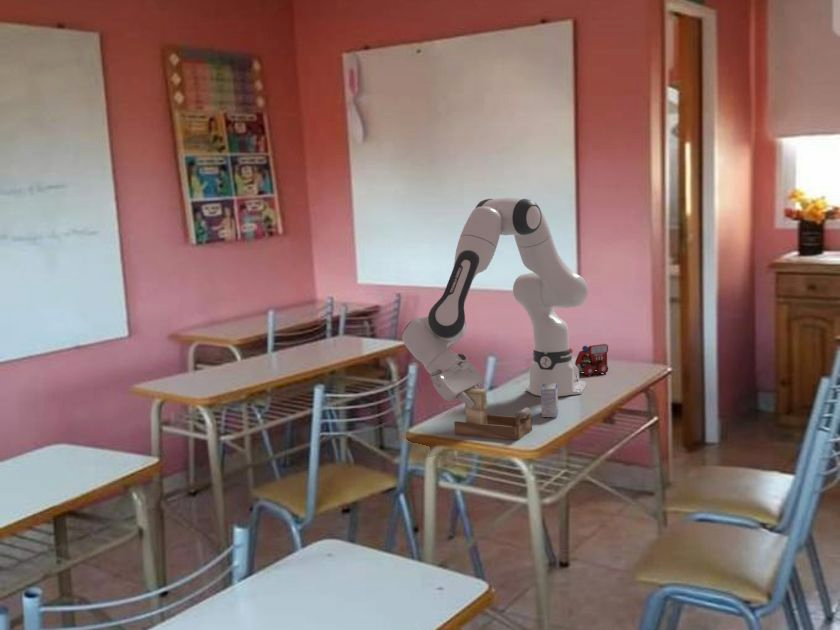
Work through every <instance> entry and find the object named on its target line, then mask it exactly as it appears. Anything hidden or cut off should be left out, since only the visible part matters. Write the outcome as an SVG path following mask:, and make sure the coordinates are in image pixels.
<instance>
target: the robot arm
mask: <svg viewBox="0 0 840 630" xmlns="http://www.w3.org/2000/svg"><path fill="white" fill-rule="evenodd" d="M468 216H469V217H468V218H467V220H466V222H465V224H464V225H463V226H464V227H463V228H462V231H461V234H460V236H459V239H458V241H457V246H456V249H455V254H454V255H455V256H454V263H453V268H452V271H451V274H450V276H449V279H448V281H447V284H446V287H445V289H444V291H443V294H442V295H441V297H440V298H439V300H437V301H436V303H435V304H433V305H432V307H431V308H430V310H429V313H428V316H425V317H424V316H423V317H415V318H413V319H412V320H410V322H408V323H407V325H406V326H405V327H404V330H403V332H402V335H401V336H402V337H401V338H402V342H403V344H404V345H405V347H406V348H407V349H408V351H409V352H410V353H411V354H412V356H413V357H414V358H415V359H416V360H417V361H420V363H421V364H422V366H424V368H425V370H426V372H427V373H429V374H430V380H431V381H432V386H433V388H435V390H436V392H437V393H438V394H439V395H440V396H441V398H442V399H443V400H444V401H445V402H452V401H453V400H455V399H458V400H459V401H460V402H462V403H464V405H465V404H467V405H468V406H469V407H470V408H472V407H473V406H474V405H475V404H476V402H475V401H474V400H473V399H470V398H469V397H468V396H466V393H465V391H467V390H469V389H471V388H474V389H480V386H481V384H483V382H485V381H484V377H483V375H482V373H481V372H480V371H479V370H478V369H477V368H476V367H475V366H474V365H473V363H472V362H470V361H468V360H469V357H467V356H466V354H464V353H457V352H454V351H452V350H451V349H450V347H452V346H453V345H455V344H457V343H458V342H460V341H461V340H462V339H463V338H464V336H465V334H466V331H467V322H466V315H465V314H466V313H465V303H466V301H467V296H468V295H469V292H470V289H471V285H473V284H472V283H473V281H474V279H475V278H476V276H477V275H478V274H479V273H483V272H484V271H486V270H487V269H488V268H489V265H490V264H491V262H492V261H493V258H494V255H495V253H496V250H497V247H498V243H499V241H500V236H511V235H512V236H513V237H514V240H515V243H516V247H517V249H518V252H519V254H520V258H521V261H522V263H523V265H524V267H525V268H526V269H528V270H529V271H531V272H528V273H523V274H520V275H518V276H517V277H516V279H515V281H514V282H513V286H512V292H513V296H514V299H515V300H516V301H517V303H518V304H520V305H521V306H522V307H523V309H524V310H525V311H526V313H527V314H528V316H529V319H530V322H531V324H532V330H533V331H532V333H533V341H534V349H533V352H532V358H533V361H534V362H533V363H532V364H531V365H530V366H529V385H528V386H526V387H525V391H526V392H529V393H531V394H532V395H534V396H539V397H541V388H542V386H543V384H546V383H557V390H558V397H566V396H571V395H574V396H575V395H581V394H582V393H583V391H584V390H585V388H586V386H587V382H586V381H584V380H580V373H579V369H578V367H577V366H576V365H575V362H574V361H573V360H572V359H573V357H572V354H573V352H574V350H573V347H570V343H569V340H570V339H569V337H570V335H569V334H570V333H569V325H568V324H567V322H566V321H565V320H563V319H562V318H560V317H559V315H557V313H556V311H555V308H556V309H557V308H561V309H562V308H563V309H569V308H574V307H575V308H576V307H579V306H582V305H583V304H584V303H585V302H586V300H587V298H588V294H589V286H588V282H586V281H587V280H585V278H584V277H583V276H581V275H579V274H578V273H576V272H574V271H573V270H572V269H571V268H570V267H569V266H568V265H567V264H566V263H565V262H564V261H563V259H562V258H561V256H560V255H559V253H558V250H557V248H556V245H555V242H554V239H553V236H552V233H551V230H550V227H549V224H548V222H547V220H546V218H545V215H544V214H543V212H542V210H541V209H540V207H539V204H537V203H536V202H535V201H533V200H532V199H527V198H517V197H501V198H487V199H486V198H485V199H483V200H481V201H479V202H478V203H477V205H476V206H475V208H474V209H473V210H472V212H471V213H470V215H468Z"/></svg>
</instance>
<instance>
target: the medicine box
mask: <svg viewBox="0 0 840 630" xmlns="http://www.w3.org/2000/svg"><path fill="white" fill-rule="evenodd" d="M540 403H541V404H540V406H541V407H540V408H541V417H542V418H543V417H548V418H547V419H549V417H553V419H554V418H555V417H557V418H558V413H559V396H558V390H557V383H546V384H543V386H542V388H541V396H540ZM555 419H556V418H555Z"/></svg>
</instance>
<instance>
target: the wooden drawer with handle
mask: <svg viewBox="0 0 840 630" xmlns="http://www.w3.org/2000/svg"><path fill="white" fill-rule="evenodd" d="M531 412H532V411H531V408H530V407H524V408H523V409H521V410H519V411H518V412H516V413H515V416H512V415H498V414H489V413H487V422H488V424H480V423H469V422H466V421H454V425H453V426H454V435H456V434H459V436H467V435H468V437H469V436H471V437H479V438H480V437H481V438H489V439H490V438H491V439H499V438H501V439H502V440H510V439H515V440H514V441H519V440H521V439H522V438H523V437H525V436H527V435H528V434H529V433H531V432H532V431H533V418H532V417H531ZM531 430H532V431H531ZM530 431H531V432H530ZM527 433H528V434H527ZM524 435H525V436H524ZM501 439H500V440H501Z"/></svg>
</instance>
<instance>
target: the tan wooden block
mask: <svg viewBox="0 0 840 630" xmlns="http://www.w3.org/2000/svg"><path fill="white" fill-rule="evenodd" d="M465 393H466V396H468V397H469V398H470V399H473V400H474V401H475V402H476V404H475V405H474V406H473V407H472V408H470V407H469V406H468V405H467V404H465V403H464V406H465V407H464V410H465V422H469V423H480V424H488V422H487V414H488V406H487V405H488V401H487V389H485V388H479V389H474V388H471V389H469V390H467V391H465Z"/></svg>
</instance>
